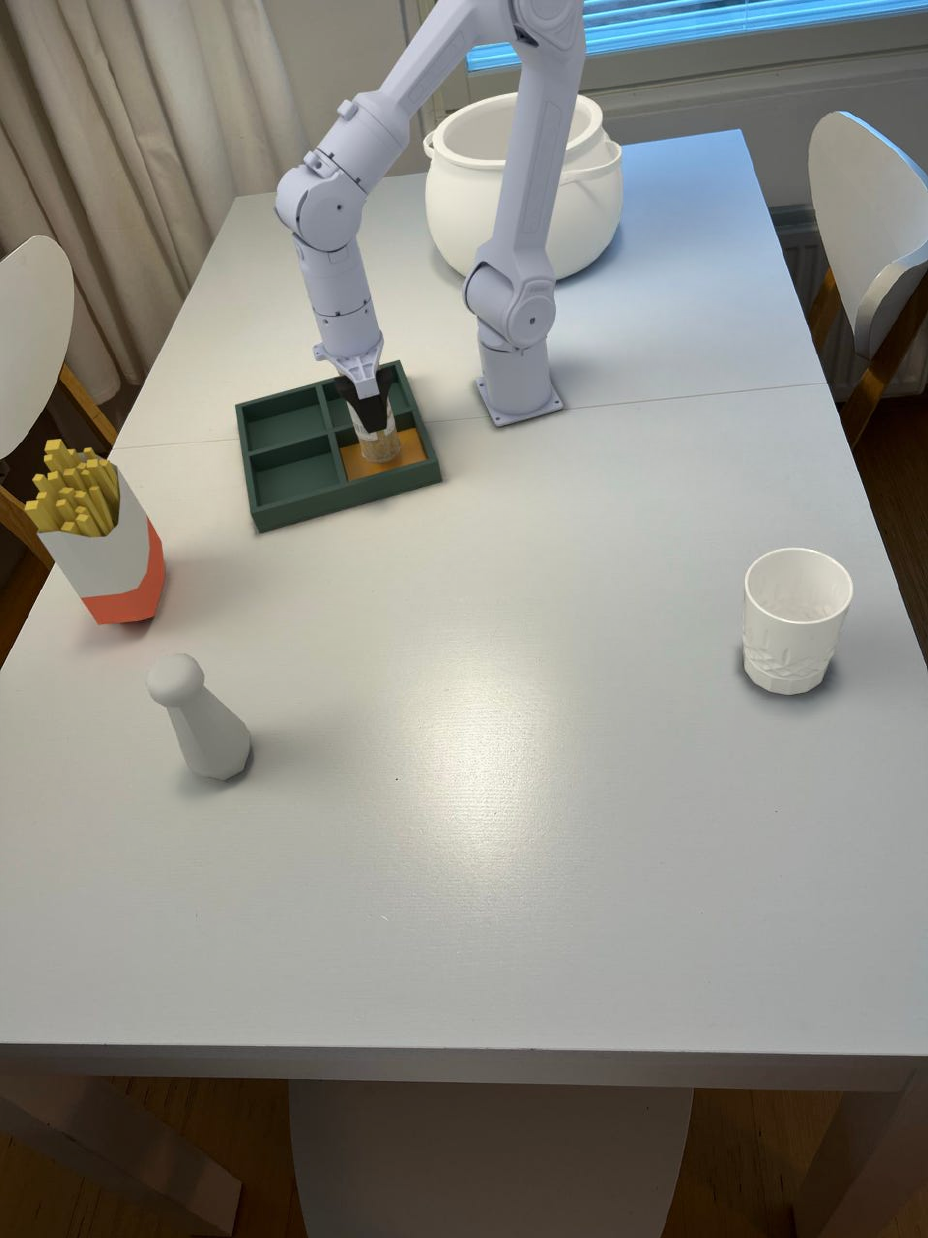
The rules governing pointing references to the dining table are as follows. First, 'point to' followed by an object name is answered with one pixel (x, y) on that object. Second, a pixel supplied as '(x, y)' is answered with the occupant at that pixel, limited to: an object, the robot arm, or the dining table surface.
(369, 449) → the sprinkles bottle
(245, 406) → the tray
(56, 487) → the french fries container
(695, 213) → the dining table surface
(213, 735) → the salt shaker
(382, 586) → the dining table surface
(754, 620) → the white cup
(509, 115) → the pot
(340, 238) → the robot arm
